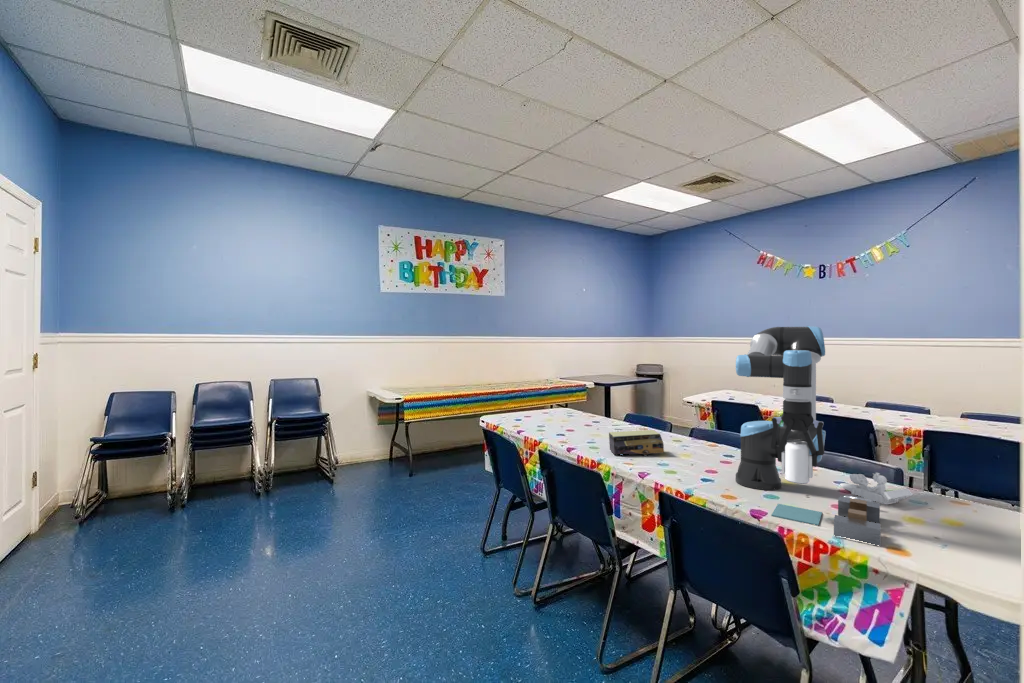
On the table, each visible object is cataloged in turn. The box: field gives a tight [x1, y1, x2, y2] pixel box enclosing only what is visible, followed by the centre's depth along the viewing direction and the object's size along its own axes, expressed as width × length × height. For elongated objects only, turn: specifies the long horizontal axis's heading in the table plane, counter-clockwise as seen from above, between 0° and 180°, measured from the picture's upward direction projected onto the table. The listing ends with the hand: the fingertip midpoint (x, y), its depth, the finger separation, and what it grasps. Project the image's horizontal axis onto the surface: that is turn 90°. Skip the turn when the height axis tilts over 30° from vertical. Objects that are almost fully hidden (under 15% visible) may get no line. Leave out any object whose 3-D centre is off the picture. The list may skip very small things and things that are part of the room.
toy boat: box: [839, 472, 914, 505], centre depth 157 cm, size 11×20×9 cm, turn 19°
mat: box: [771, 503, 823, 526], centre depth 141 cm, size 12×12×1 cm
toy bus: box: [608, 429, 665, 456], centre depth 217 cm, size 10×23×10 cm, turn 91°
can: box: [784, 440, 810, 485], centre depth 141 cm, size 6×6×12 cm
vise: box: [833, 495, 882, 547], centre depth 135 cm, size 32×10×6 cm, turn 142°
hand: (797, 474), depth 141 cm, fingers closed on can, 6 cm apart
